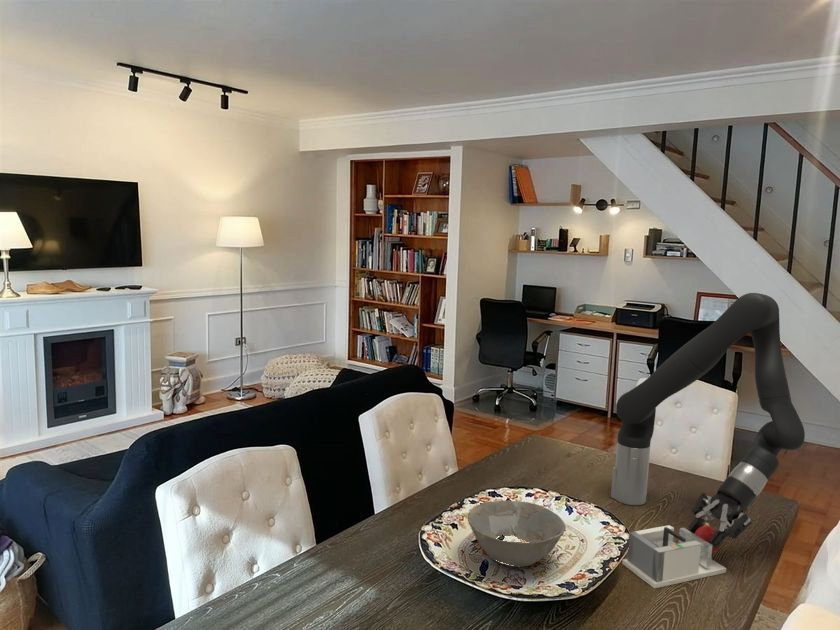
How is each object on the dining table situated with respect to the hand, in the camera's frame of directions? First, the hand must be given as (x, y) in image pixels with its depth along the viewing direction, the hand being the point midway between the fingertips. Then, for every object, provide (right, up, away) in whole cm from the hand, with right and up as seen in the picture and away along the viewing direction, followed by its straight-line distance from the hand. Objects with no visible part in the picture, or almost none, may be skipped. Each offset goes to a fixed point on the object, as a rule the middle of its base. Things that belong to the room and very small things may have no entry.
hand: (701, 538), depth 149 cm
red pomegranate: (+2, -4, +1) cm, 5 cm away
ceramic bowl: (-45, -5, 0) cm, 45 cm away
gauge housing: (-7, -6, -2) cm, 10 cm away
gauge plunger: (-6, -5, -2) cm, 8 cm away
